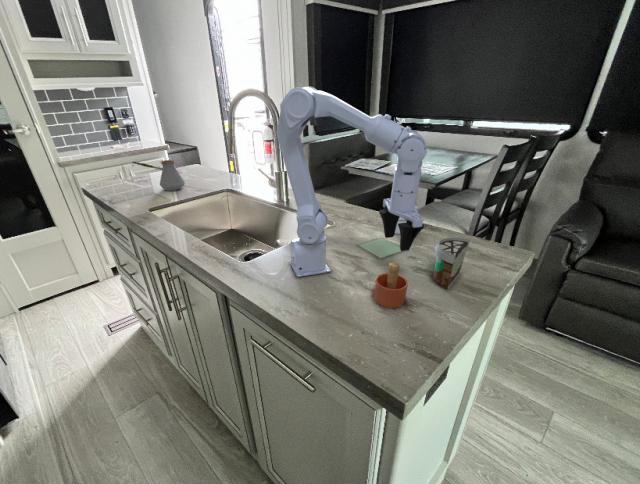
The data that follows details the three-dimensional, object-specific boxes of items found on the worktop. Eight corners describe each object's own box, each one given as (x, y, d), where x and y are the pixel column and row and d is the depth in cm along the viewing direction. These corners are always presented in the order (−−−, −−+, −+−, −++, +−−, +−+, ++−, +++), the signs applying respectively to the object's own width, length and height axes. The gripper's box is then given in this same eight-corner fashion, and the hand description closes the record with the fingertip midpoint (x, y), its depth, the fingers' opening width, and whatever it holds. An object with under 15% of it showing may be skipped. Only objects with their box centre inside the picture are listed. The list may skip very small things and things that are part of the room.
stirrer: (387, 300, 75) (392, 267, 71) (383, 295, 77) (387, 262, 73) (396, 298, 76) (401, 265, 71) (391, 293, 78) (396, 261, 73)
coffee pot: (180, 184, 163) (174, 153, 156) (190, 188, 156) (183, 156, 148) (136, 192, 151) (127, 159, 144) (144, 198, 144) (135, 164, 136)
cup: (382, 310, 73) (385, 292, 70) (368, 293, 79) (370, 275, 76) (410, 304, 75) (414, 287, 72) (394, 288, 81) (397, 271, 78)
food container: (438, 264, 91) (445, 232, 86) (461, 272, 87) (470, 238, 82) (421, 283, 82) (428, 248, 77) (445, 292, 79) (454, 256, 74)
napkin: (380, 259, 94) (380, 258, 94) (358, 246, 101) (358, 245, 101) (404, 250, 98) (405, 249, 98) (382, 238, 106) (382, 238, 106)
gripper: (439, 197, 68) (427, 254, 75) (403, 180, 80) (396, 230, 87) (410, 200, 67) (400, 258, 74) (378, 182, 79) (372, 233, 86)
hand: (396, 243), depth 80 cm, fingers open, 7 cm apart
